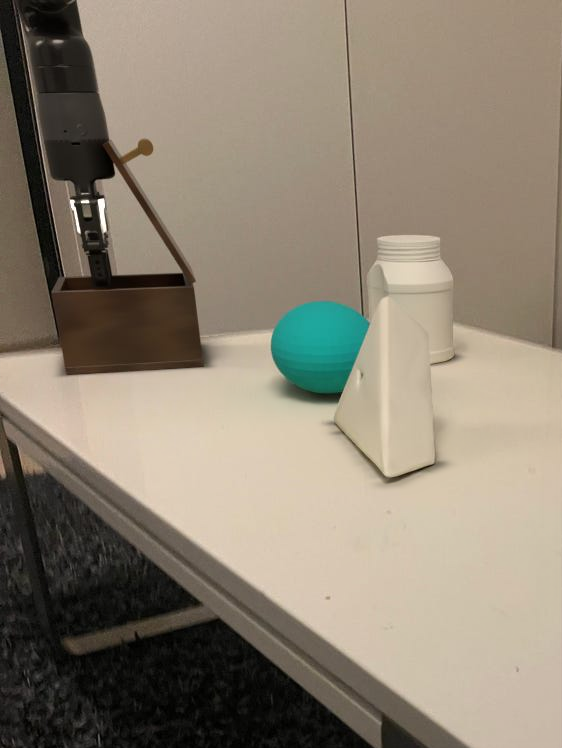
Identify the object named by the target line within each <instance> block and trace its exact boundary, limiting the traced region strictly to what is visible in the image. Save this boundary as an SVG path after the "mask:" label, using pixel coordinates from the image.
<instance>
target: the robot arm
mask: <svg viewBox="0 0 562 748" xmlns="http://www.w3.org/2000/svg"><path fill="white" fill-rule="evenodd" d="M14 1H15V6H16V9H17V11H18V15H19V18H20V22H21V25H22V29H23V32H24V35H25V39H26V41H27V47H28V55H29V61H30V67H31V72H32V77H33V82H34V83H33V84H34V87H35V93H36V99H37V112H38V113H37V114H38V120H39V124H40V129H41V135H42V140H43V144H44V150H45V155H46V160H47V165H48V169H49V174H50V178H51V179H52V180H54V181H58V182H59V181H60V182H71V183H72V184H73V189H74V195H71V196H70V197H69V201H70V208H71V210H72V213H73V214H74V218H75V224H76V230H77V234H78V236H79V237H81V242H82V244H81V248H82V249H83V253H85V256H86V257H87V261H88V267H89V272H90V276H91V278H92V283H93V285H94V286H95V287H109V286H110V285H111V278H112V275H113V271H112V266H111V260H110V254H109V245H110V243H109V240H108V239H109V235H108V232H109V223H108V218H107V202H106V197H105V194H100V191H98V188H97V184H96V181H101V180H103V181H104V180H111V179H114V177H115V176H116V170H115V164H114V163H113V161H112V159H111V158H110V156H109V155H108V153H107V152H106V150H105V148H104V147H103V144H104V143H106V142H108V141H110V140H111V139H110V135H109V129H108V128H109V127H108V123H107V117H106V112H105V109H104V105H103V103H102V98H101V94H100V93H99V92H100V90H99V89H100V88H99V83H98V78H97V72H96V67H95V61H94V57H93V53H92V49H91V47H90V45H89V43H88V41H87V40H86V38H85V36H84V33H83V27H82V21H81V16H80V10H79V6H78V5H79V4H78V0H14Z"/></svg>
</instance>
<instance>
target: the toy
mask: <svg viewBox="0 0 562 748" xmlns="http://www.w3.org/2000/svg"><path fill="white" fill-rule="evenodd" d="M369 326H370V323H369V319H367V318H366V317H365V316H364V315H363V314H361V312H359V311H358V310H356V309H354V308H352V307H350V306H348V305H345V304H342V303H340V302H335V301H330V300H329V301H328V300H319V301H318V300H317V301H309V302H306V303H303V304H300V305H298V306H296V307H294V308H292V309H290V310H289V311H287V312H286V313H285V314H284V315H283V316H282V317H281V318H280V319H279V321H278V322H277V323H276V324H275V327H274V328H273V330H272V334H271V338H270V354H271V358H272V360H273V362H274V364H275V366H276V368H277V369H278V371H279V372H280V374H281V375H282V376H283V377H284V378H285V379H286V380H288V381H289V383H292V384H293V385H295V386H296V387H298V388H300V389H302V390H305V391H308V392H311V393H316V394H326V395H329V394H330V395H331V394H339V393H343V391H344V388H345V386H346V383H347V381H348V378H349V376H350V373H351V371H352V368H353V366H354V363H355V361H356V358H357V356H358V354H359V351H360V348H361V346H362V343H363V341H364V338H365V336H366V333H367V331H368V328H369ZM361 377H363V374H361ZM361 380H362V378H361Z"/></svg>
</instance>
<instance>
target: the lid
mask: <svg viewBox="0 0 562 748" xmlns="http://www.w3.org/2000/svg"><path fill="white" fill-rule="evenodd" d="M109 140H110V141H108V142H106V143H104V144H103V147H104V148H105V150H106V152H107V153H108V155H109V156H110V158H111V159H112V161H113V163H114V167H115V168H116V169H117V171H118V173H119V174H120V175H121V177H122V178H123V180H124V182H125V183H126V185H127V186H128V189H130V191H131V193H132V195H133V196H134V197H135V199H136V200H137V202H138V204H139V206H140V207H141V209H142V210H143V212H144V213H145V215H146V217H147V218H148V220H149V221H150V223H151V224H152V226H153V228H154V229H155V231H156V232H157V233H158V235H159V237H160V238H161V240H162V241H163V243H164V245H165V247H166V248H167V250H168V251H169V253H170V255H171V256H172V257H173V260H174V261H175V263H176V264H177V265H178V267H179V268H180V270H181V273H184V275H185V276H186V278H187V280H188V281H189V283H190V284H193V285H194V283H196V282H197V280H196V277H195V274H194V271H193V269H192V267H191V265H190V263H189V261H188V260H187V258H186V257H185V255H184V253H183V252H182V250H181V249H180V247H179V246H178V244H177V241H175V239H174V237H173V236H172V234H171V233H170V231H169V230H168V227H167V226H166V225H165V223H164V221H163V220H162V218H161V216H160V215H159V213H158V212H157V211H156V209H155V207H154V205H153V204H152V202H151V200H150V199H149V198H148V196H147V195H146V193H145V191H144V189H143V188H142V186H141V184H140V183H139V182H138V180H137V179H136V177H135V175H134V174H133V172H132V171H131V169H130V167H129V166H128V164H127V163H128V162H130V161H132V160H134V159H135V158H137V157H139V156H141V155H142V156H145V157H149V156H151V155H152V154H153V152H154V145H153V143H152V141H151V140H150V139H148V138H141V139H139V140H138V142H137V147H135V148H134V149H132V150H130V151H129V152H127V153H125V154H124V155H122V154H121V153H120V151H119V150H118V148H117V146H116V145H115V144H114V141H113V140H112V139H109Z"/></svg>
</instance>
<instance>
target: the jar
mask: <svg viewBox="0 0 562 748" xmlns="http://www.w3.org/2000/svg"><path fill="white" fill-rule="evenodd" d="M376 242H377V243H376V244H377V245H376V247H377V250H376V252H377V257H376V260H375V262H374V263H373V265H372V266H371V268H370V269H369V270H368V273H367V275H366V287H367V299H368V300H367V301H368V302H367V303H368V318H369V319H368V322H369V323H370V324H371V321H372V319H373V316H374V314H375V311H376V309H377V306H378V304H379V303H380V301H381V300H382V299H383V298H385V297H389V298H391V299H392V300H393V301H394V302H395V303H396V304H398V305H399V306H400V307H401V308H402V309H403V310H404V311H405V312H407V313H408V314H409V315H410V316H411V317H412V318H413V319H414V320H415V321H417V322H418V323H419V324H420V325H421V326H422V327H423V328H424V329H425V330H426V332H427V333H428V337H429V352H430V365H434V364H438V363H439V364H440V363H443V362H446V361H450V360H451V359H453V358H454V356H455V345H454V277H453V274H452V271H451V270H450V268H449V267H448V266H447V264H446V263H445V262H444V260H443V259H442V256H441V254H442V253H441V249H442V248H441V244H442V243H441V237H439V236H435V235H424V234H423V235H422V234H395V235H383V236H379V237H377V238H376Z"/></svg>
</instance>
